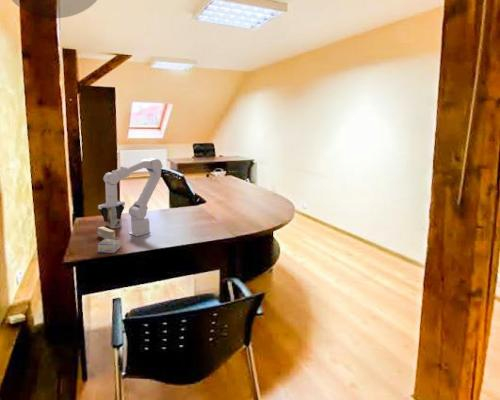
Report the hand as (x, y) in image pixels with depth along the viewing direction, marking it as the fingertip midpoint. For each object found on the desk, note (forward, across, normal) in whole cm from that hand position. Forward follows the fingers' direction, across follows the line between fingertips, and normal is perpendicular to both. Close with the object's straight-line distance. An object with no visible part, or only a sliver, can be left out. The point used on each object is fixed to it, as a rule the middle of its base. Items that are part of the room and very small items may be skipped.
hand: (112, 220), depth 197 cm
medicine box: (+8, +7, +11) cm, 16 cm away
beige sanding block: (+11, +1, -4) cm, 11 cm away
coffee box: (+10, -14, -21) cm, 27 cm away
